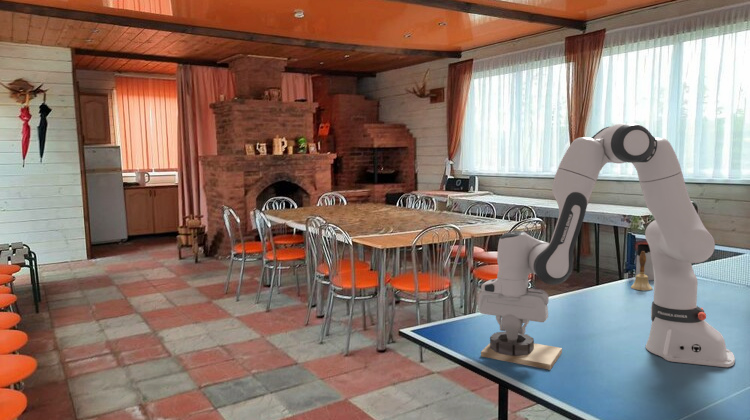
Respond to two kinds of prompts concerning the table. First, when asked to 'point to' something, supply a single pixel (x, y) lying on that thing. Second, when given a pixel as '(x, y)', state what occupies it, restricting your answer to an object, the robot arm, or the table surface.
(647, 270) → the glass holder
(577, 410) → the table surface
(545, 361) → the socket board
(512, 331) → the lightbulb
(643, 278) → the hand bell
